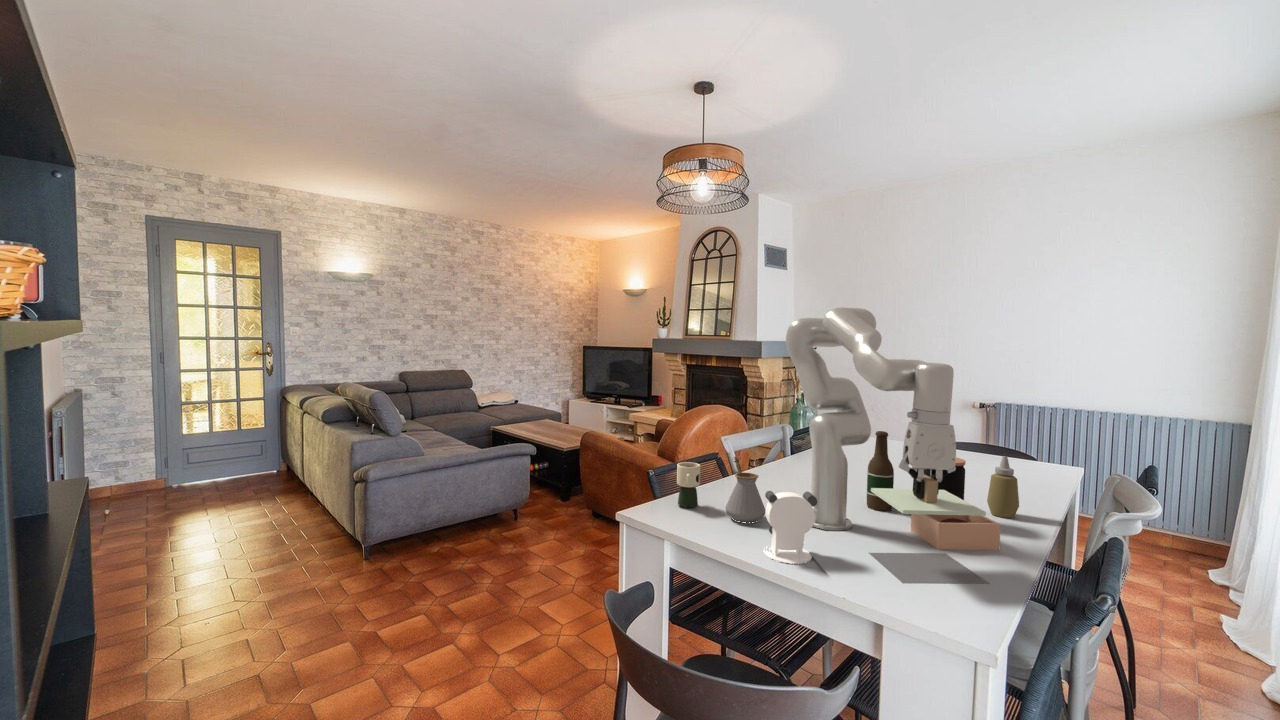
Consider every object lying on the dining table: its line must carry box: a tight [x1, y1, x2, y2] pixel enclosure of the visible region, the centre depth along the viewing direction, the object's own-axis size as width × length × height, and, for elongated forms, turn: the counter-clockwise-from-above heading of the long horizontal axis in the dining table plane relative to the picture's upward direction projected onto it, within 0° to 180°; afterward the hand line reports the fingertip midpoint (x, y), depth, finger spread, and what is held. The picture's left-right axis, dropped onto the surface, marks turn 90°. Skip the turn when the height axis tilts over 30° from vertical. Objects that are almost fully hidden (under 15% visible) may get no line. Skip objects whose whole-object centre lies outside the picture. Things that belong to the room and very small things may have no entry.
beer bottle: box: [866, 430, 895, 512], centre depth 165 cm, size 8×8×24 cm
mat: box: [868, 552, 991, 585], centre depth 120 cm, size 19×16×1 cm
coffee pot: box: [724, 455, 766, 524], centre depth 157 cm, size 21×12×15 cm, turn 2°
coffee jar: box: [923, 456, 966, 501], centre depth 156 cm, size 11×11×18 cm
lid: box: [871, 475, 987, 517], centre depth 120 cm, size 18×15×6 cm
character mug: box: [676, 461, 701, 508], centre depth 163 cm, size 11×7×13 cm, turn 175°
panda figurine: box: [762, 490, 817, 565], centre depth 128 cm, size 12×11×15 cm
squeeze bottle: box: [986, 455, 1020, 519], centre depth 160 cm, size 8×8×18 cm
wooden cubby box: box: [910, 514, 1001, 552], centre depth 138 cm, size 16×13×7 cm
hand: (925, 496), depth 121 cm, fingers closed on lid, 2 cm apart
